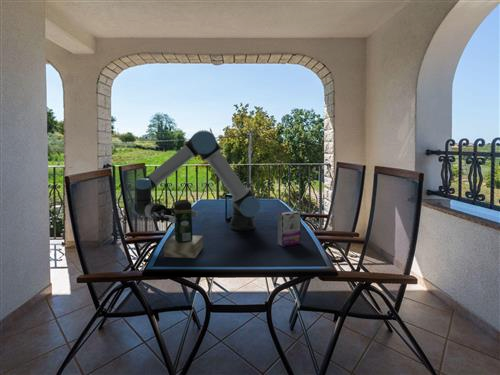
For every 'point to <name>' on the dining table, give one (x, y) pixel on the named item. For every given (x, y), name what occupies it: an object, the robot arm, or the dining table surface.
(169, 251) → the birch block
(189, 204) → the coffee jar
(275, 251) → the dining table surface
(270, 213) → the dining table surface
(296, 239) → the candy bar box
